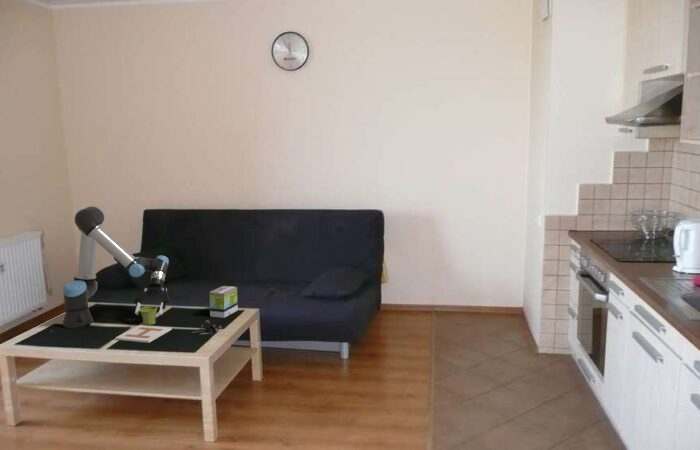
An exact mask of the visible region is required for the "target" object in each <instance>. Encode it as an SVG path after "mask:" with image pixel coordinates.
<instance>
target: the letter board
mask: <svg viewBox="0 0 700 450" xmlns="http://www.w3.org/2000/svg"><path fill="white" fill-rule="evenodd" d="M172 329H173V328H172V327H169V326H168V327H165V326H156V325H154V326H153V325H144V324H139V325H137V326H135V327H133V328H131V329H130V330H128V331H125V332H124V333H122V334H120V335H118V336H115V338H114V339H115V340H117V341H127V342H137V343H147V344H148V343H151V342H152V341H154V340H156V339H158V338H160V337H161V336H163V335H165V334H167V333H168V332H170V331H172Z"/></svg>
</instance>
